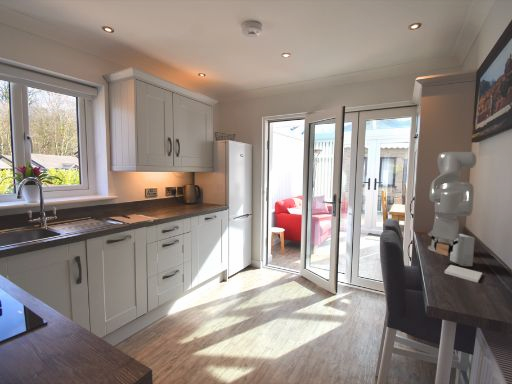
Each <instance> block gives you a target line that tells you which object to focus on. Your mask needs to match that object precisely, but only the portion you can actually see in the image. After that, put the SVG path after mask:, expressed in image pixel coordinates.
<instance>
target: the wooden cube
mask: <svg viewBox="0 0 512 384" xmlns="http://www.w3.org/2000/svg"><path fill="white" fill-rule="evenodd" d="M449 245H450V244H449V243H445V242H440V241H439V242H438V243H437V246H436V252H435V254H439V255H442V256H443V255H444V256H447V257H448V256H449V255H450V253H448V250H449Z"/></svg>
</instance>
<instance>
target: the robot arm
mask: <svg viewBox="0 0 512 384" xmlns="http://www.w3.org/2000/svg"><path fill="white" fill-rule="evenodd" d="M476 163H477V156H476V154H475V153H474V152H473V151H444V152H441V153H439V154H438V156H437V167H438V171H439V174H440V175H438V176H437V177H436V178H434V179H433V180H432V182H431V183H430V187H429V195H428V196H429V197H428V198H429V200H430V202H432V203H434V220H433V221H434V222H433V226H432V229H431V230H430V231H429V232H427V235H428V236H429V237H430V238H431V245H428V246H427V249H428V250H429V251H431V252H434V253H436V246H437V243H438V242H439V241H440V242H445V243H449V244H450V245H449V250H448V253H451V252H452V251H453V245H455V244H457V243H460V242H462V241H463V239H462V238H461V237H460V235H459V234H460V233H459V227H460V226H459V225H460V224H459V219H457V218H458V216H459V217H470V216H471V215H472V214H473V209H474V193H475V191H474V184H472V183H471V182H466V181H465V182H464V181H459V180H460V179H461V177H462V169H474V168H475V166H476ZM438 187H439V188H438ZM457 238H458V240H457V241H454V240H456V239H457Z"/></svg>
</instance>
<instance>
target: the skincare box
mask: <svg viewBox="0 0 512 384" xmlns="http://www.w3.org/2000/svg"><path fill="white" fill-rule="evenodd" d="M458 234H459V235H460V237H461V238H462V239H463V241H462V242H460V243H457V244H455V245H453V251H452V252H451V253H450V254H449V255H450V256H449V261H450V262H453V263H454V264H457V265H458V266H461V267H473V262H474V254H475V253H474V250H475V240H476V239H475V238H476V237H475V236H474V237H473V236H470V235H466V234H464V233H458ZM457 240H458V238H457V239H456V240H454V241H457Z"/></svg>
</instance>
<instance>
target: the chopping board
mask: <svg viewBox="0 0 512 384" xmlns="http://www.w3.org/2000/svg"><path fill="white" fill-rule="evenodd" d="M444 274H446V275H450V276H453V277H456V278H460V279H463V280H466V281H471V282H474V283H477V284H478V283H479V281H480V280H481V278H482V276H483V272H480V271H476V270H472V269H469V268H465V267H462V266H461V267H460V266H457V265H453V264H450V265H448V267H447V268H445V270H444Z"/></svg>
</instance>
